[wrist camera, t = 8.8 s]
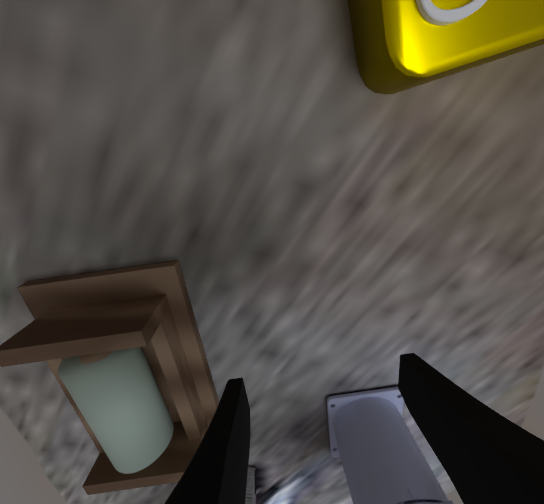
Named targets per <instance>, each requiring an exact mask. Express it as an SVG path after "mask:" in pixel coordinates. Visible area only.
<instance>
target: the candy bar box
mask: <svg viewBox="0 0 544 504" xmlns="http://www.w3.org/2000/svg"><path fill="white" fill-rule="evenodd" d="M245 504H256V468H255V467H253V466H248V473H247V486H246V498H245Z"/></svg>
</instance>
